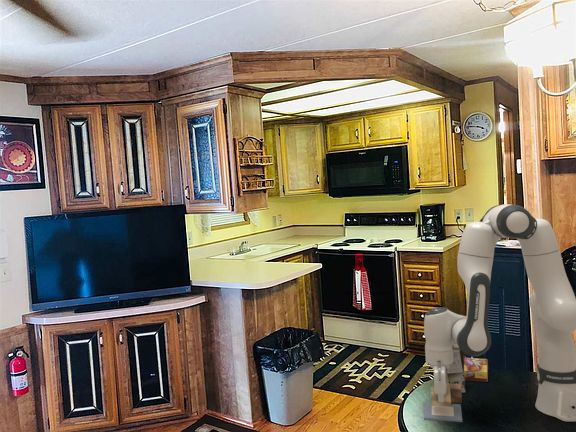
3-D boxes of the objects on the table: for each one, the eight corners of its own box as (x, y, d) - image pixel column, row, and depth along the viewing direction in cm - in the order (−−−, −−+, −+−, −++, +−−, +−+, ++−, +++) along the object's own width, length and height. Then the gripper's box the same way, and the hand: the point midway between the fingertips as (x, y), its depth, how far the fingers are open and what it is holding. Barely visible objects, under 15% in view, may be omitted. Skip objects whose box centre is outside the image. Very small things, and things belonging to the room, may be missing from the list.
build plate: (460, 406, 169) (460, 404, 169) (462, 422, 157) (462, 419, 157) (424, 404, 172) (424, 402, 172) (423, 419, 161) (423, 417, 161)
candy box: (487, 383, 187) (488, 368, 201) (486, 372, 186) (487, 358, 200) (463, 381, 190) (465, 366, 204) (462, 370, 190) (464, 356, 204)
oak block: (450, 398, 167) (449, 387, 166) (451, 406, 161) (450, 394, 161) (431, 397, 168) (431, 386, 168) (432, 405, 162) (431, 393, 162)
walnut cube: (461, 397, 176) (460, 383, 175) (462, 403, 171) (461, 389, 171) (446, 396, 177) (445, 383, 177) (447, 402, 172) (446, 388, 172)
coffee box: (466, 392, 179) (463, 349, 178) (448, 392, 180) (445, 349, 180) (462, 383, 188) (459, 341, 187) (445, 383, 189) (442, 342, 189)
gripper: (449, 367, 153) (451, 410, 154) (448, 347, 173) (450, 385, 173) (428, 366, 155) (431, 409, 155) (429, 346, 174) (431, 384, 175)
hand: (441, 396), depth 164 cm, fingers closed on oak block, 6 cm apart
